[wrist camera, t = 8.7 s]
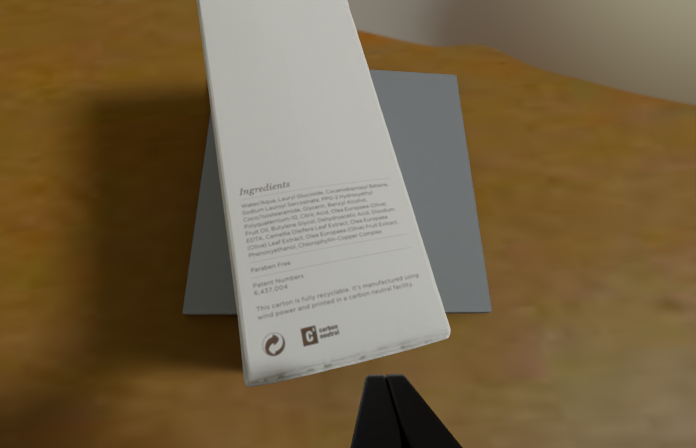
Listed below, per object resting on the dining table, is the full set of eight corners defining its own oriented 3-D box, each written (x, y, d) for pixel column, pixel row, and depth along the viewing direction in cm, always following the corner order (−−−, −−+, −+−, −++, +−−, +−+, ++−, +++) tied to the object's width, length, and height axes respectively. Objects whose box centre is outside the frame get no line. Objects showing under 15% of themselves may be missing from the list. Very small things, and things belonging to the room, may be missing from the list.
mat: (486, 312, 19) (491, 311, 19) (186, 314, 18) (182, 313, 17) (452, 81, 25) (456, 75, 24) (220, 67, 23) (217, 60, 23)
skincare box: (458, 343, 10) (349, -36, 15) (224, 400, 9) (183, -37, 14) (386, 345, 18) (328, 96, 23) (255, 375, 17) (222, 104, 21)
